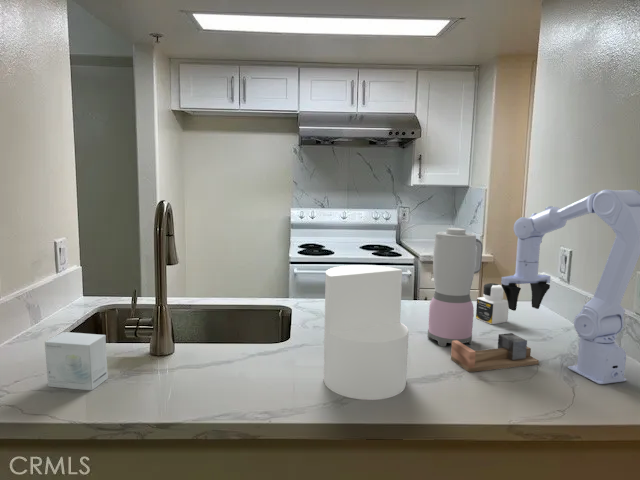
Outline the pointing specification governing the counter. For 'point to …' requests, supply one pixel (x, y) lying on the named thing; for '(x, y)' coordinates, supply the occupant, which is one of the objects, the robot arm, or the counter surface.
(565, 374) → the counter surface
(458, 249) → the blender
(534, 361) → the rail board
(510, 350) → the keeper
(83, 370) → the skincare box
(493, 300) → the medicine bottle
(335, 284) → the cylinder
